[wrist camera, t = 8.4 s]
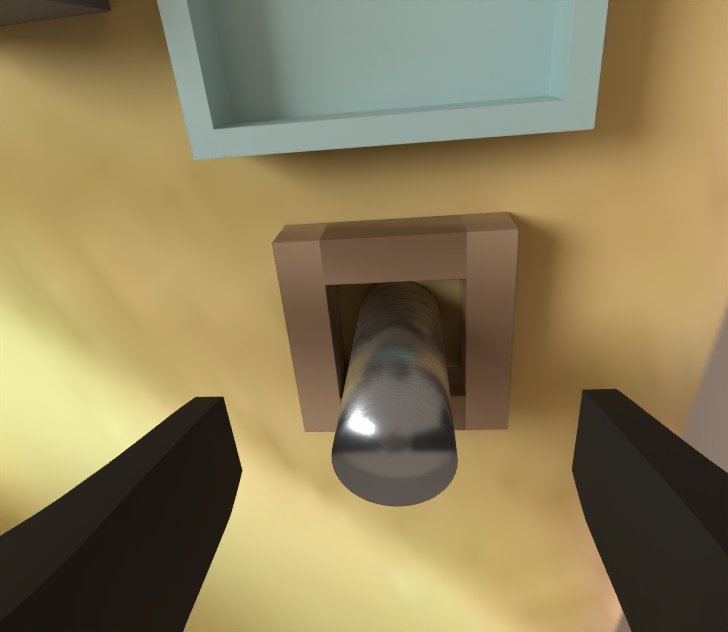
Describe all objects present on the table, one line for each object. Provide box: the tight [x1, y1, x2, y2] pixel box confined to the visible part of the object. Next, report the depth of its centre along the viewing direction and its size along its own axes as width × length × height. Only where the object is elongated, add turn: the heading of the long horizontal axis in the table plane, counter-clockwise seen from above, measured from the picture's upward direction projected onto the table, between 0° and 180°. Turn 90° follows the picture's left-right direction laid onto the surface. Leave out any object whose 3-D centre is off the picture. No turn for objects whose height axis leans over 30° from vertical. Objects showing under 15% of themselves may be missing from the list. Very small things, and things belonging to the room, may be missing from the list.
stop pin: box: [332, 281, 458, 506], centre depth 12 cm, size 2×2×6 cm
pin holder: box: [272, 212, 519, 432], centre depth 14 cm, size 6×6×2 cm
